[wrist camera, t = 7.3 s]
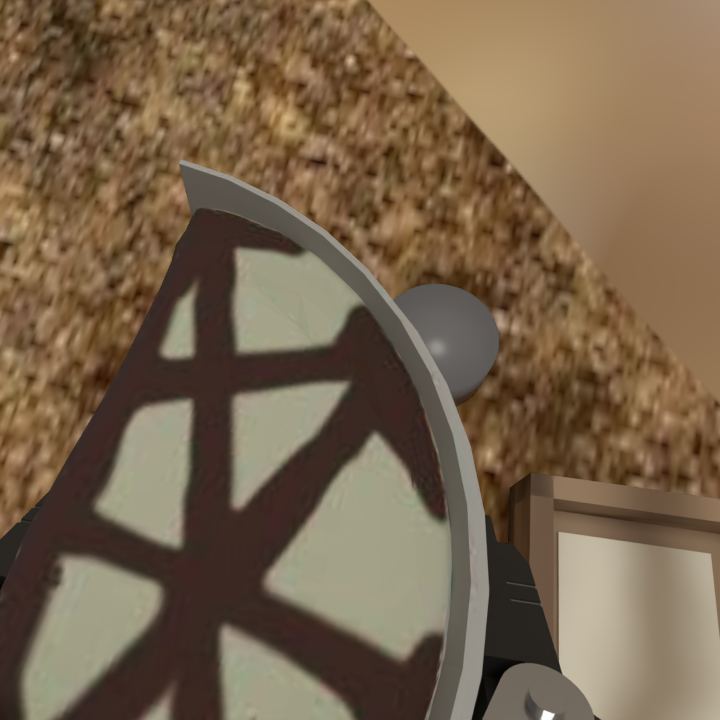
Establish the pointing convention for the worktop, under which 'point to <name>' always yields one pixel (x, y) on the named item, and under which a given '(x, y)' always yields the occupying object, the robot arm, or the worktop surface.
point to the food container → (257, 503)
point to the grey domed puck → (453, 334)
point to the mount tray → (626, 592)
